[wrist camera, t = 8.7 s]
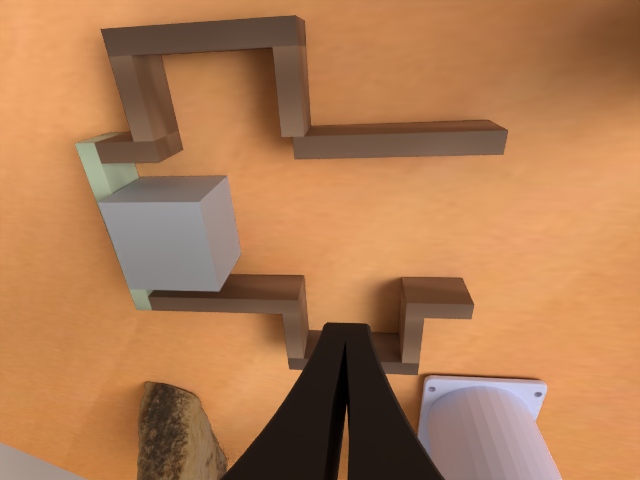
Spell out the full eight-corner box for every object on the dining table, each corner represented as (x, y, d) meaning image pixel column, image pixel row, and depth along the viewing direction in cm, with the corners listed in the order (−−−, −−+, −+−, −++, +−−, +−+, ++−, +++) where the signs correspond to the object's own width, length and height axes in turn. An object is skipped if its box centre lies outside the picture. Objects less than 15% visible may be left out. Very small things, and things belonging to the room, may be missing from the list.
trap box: (450, 346, 23) (460, 377, 21) (174, 336, 26) (156, 363, 23) (507, 6, 15) (533, -2, 12) (76, 35, 17) (33, 33, 15)
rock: (249, 503, 31) (266, 459, 25) (153, 596, 26) (146, 567, 20) (187, 407, 36) (189, 352, 30) (95, 468, 31) (75, 414, 25)
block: (241, 252, 22) (219, 291, 18) (166, 251, 22) (129, 289, 19) (228, 174, 19) (199, 201, 16) (143, 175, 20) (97, 202, 17)
